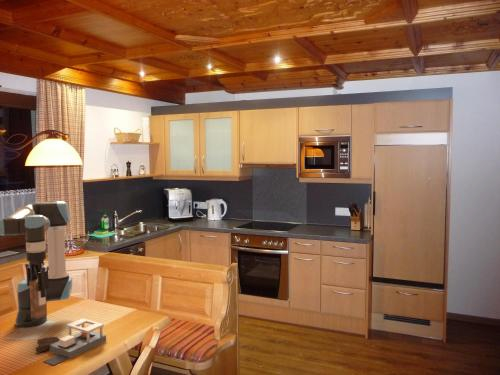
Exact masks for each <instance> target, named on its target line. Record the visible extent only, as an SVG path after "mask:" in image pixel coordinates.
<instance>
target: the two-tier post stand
mask: <svg viewBox="0 0 500 375" xmlns="http://www.w3.org/2000/svg"><path fill="white" fill-rule="evenodd" d="M85 324H90V325H87V326H88V327H86V328H82V327H84V326H85ZM104 326H105V325H104V323H100V322H97V321H93V320H91V319H87V318H81V319H77V320H75V321H73V322H70V323H68V324H66V328H68V335H70V336H73V337H75V343H74V344H72V345H70V346H68V347H62V346H60V345H59V341H58V342H56V343H54V344H51V345H50V349H49V352H50V353H53V354H55V355H61V356H64V357H67V358H68V359H72V358H75V357H77V356H79V355H81V354H82V353H85V352H87V351H89V350H90V349H93V348H95V347H97V346H99V345H101V344H102V343H103V344H104V343H106V342H107V335H106V334H104V333H103V332H104V331H103V327H104ZM98 329H99V332H97V331H96V330H98ZM72 330H76V331H79V332H77V333H75V334H73V335H72ZM81 331H82V332H86V333H87V337H82V333H81ZM89 333H90V335H89Z"/></svg>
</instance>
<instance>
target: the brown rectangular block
mask: <svg viewBox="0 0 500 375" xmlns="http://www.w3.org/2000/svg"><path fill="white" fill-rule="evenodd" d="M29 284H30V304H31V317H33V318H36V319H38V318H41V317H44V316H47V317H48V309H47V306H48V304H47V303H46V304H43V305H40V306H39V298H38V290H39V285H38V279H35V280H31V281H29ZM45 295H46V290H45ZM45 300H46V296H45Z"/></svg>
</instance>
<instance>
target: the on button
mask: <svg viewBox="0 0 500 375" xmlns="http://www.w3.org/2000/svg"><path fill="white" fill-rule="evenodd" d="M74 343H75V337H73V336H72V335H71V336H70V335H69V334H68V335H66V336H64V337H61V338H59V345H60V346H62V347H68V346H70V345H72V344H74ZM68 348H69V347H68Z"/></svg>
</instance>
